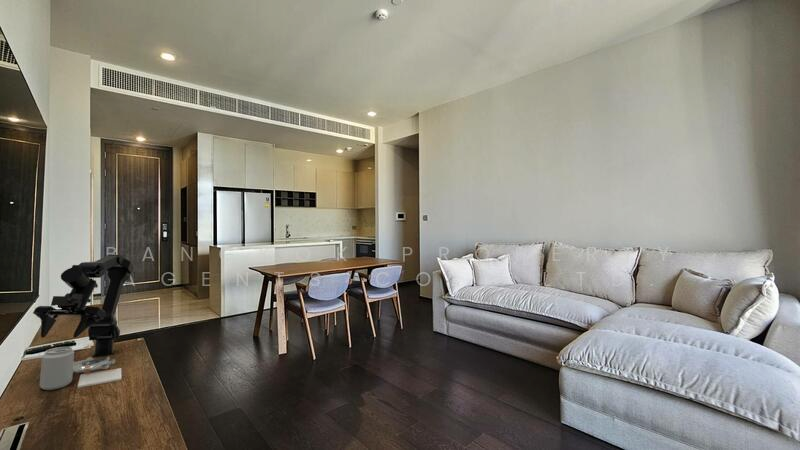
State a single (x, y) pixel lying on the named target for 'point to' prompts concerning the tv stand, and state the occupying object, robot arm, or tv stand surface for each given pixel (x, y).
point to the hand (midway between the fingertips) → (58, 337)
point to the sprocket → (92, 364)
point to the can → (56, 368)
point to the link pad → (99, 377)
